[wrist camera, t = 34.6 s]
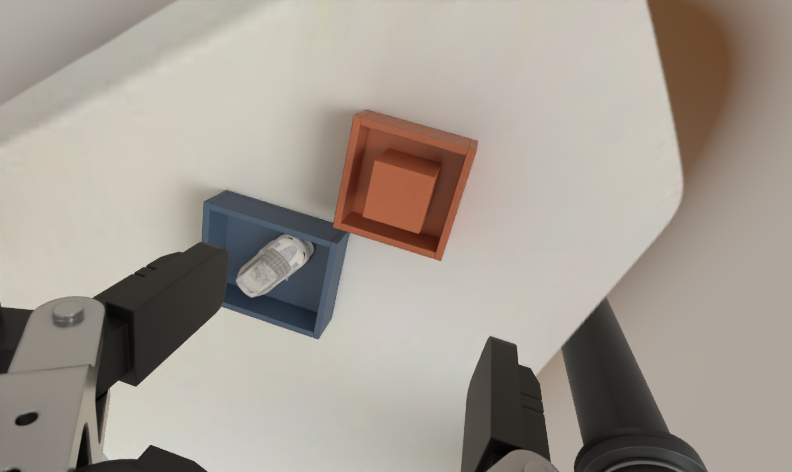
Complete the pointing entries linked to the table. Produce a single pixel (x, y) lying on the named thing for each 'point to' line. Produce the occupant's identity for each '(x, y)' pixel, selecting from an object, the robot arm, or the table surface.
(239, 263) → the blue bin
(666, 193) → the table surface
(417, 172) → the terracotta block
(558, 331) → the table surface
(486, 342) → the robot arm
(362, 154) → the terracotta bin
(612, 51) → the table surface
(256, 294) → the toy car
